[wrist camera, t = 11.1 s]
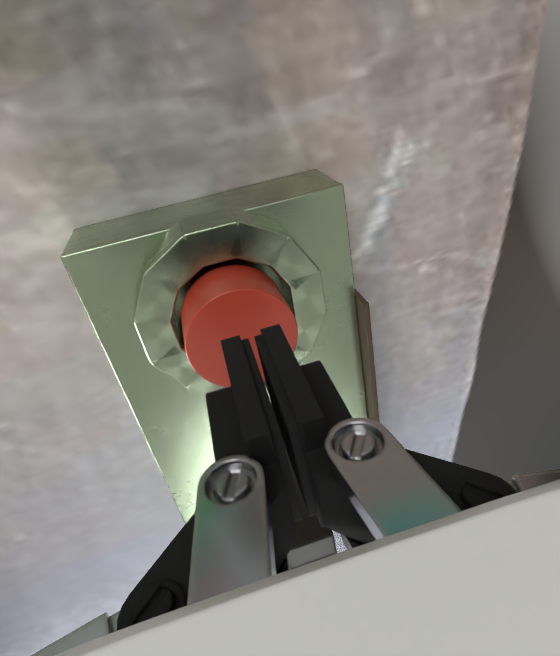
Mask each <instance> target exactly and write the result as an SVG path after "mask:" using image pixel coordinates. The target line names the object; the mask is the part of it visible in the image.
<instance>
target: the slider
mask: <svg viewBox="0 0 560 656" xmlns="http://www.w3.org/2000/svg"><path fill="white" fill-rule="evenodd" d="M283 444H284V443H283ZM284 448H285V446H284ZM285 452H286V449H285ZM286 456H287V460H288V464H289V468H290V472H291V476H292V480H293V484H294V488H295V492H296V496H297V500H298V504H299V508H300V512H301V516H302V520H299V521H296V522H295V525H296V529H297V532H298V537H297V539H296V541H295V542H294V544H293V546H292V548H291V549H290V551H289V553H288V556H289V560H290V565H291V569H294V568H297V567H299V566H302V565H305V564H308V563H311V562H314V561H317V560H320V559H323V558H326V557H328V556H331V555H334V554H337V551H336V546H335V541H334V536H333V532H332V530H331V529H328V528H326V527H323V528H321V525H320V522H319V519H318V517H317V515H314V516H311V517H309V516H308V513H307V510H306V507H305V505H304V502H303V499H302V496H301V493H300V490H299V487H298V484H297V481H296V478H295V475H294V472H293V469H292V467H291V464H290V461H289V458H288V455H287V452H286Z"/></svg>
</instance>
